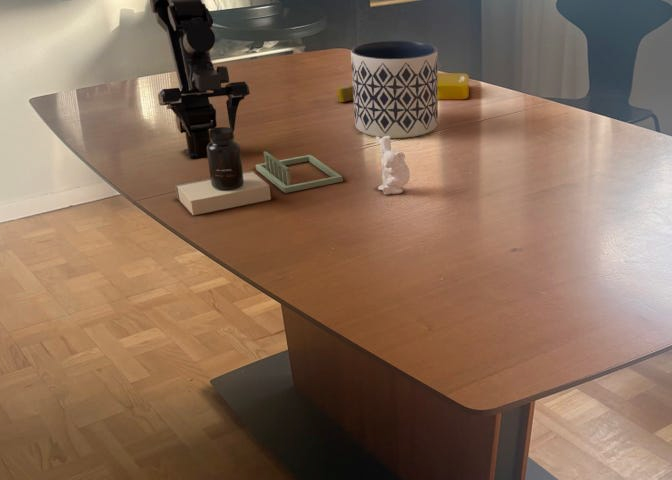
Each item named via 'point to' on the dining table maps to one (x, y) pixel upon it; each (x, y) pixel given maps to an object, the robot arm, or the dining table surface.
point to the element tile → (453, 86)
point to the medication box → (345, 93)
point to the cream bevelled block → (222, 194)
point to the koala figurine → (392, 168)
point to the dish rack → (277, 164)
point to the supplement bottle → (224, 160)
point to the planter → (395, 88)
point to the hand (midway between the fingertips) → (212, 133)
